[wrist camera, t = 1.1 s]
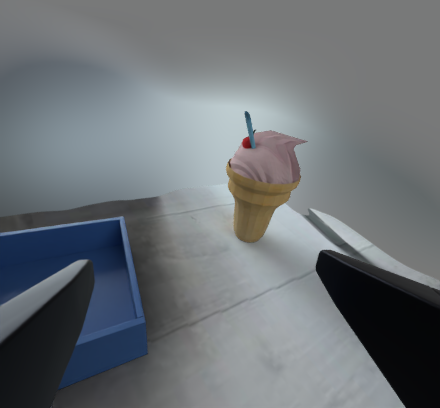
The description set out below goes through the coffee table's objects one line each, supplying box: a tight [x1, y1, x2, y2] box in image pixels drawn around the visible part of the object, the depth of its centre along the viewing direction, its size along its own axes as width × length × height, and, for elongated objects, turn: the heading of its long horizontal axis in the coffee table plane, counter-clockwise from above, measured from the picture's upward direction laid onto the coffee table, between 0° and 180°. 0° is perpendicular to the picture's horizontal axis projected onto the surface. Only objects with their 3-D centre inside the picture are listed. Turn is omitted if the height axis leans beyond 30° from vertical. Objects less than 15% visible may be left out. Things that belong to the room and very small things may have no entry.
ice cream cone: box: [226, 111, 307, 242], centre depth 34 cm, size 11×11×20 cm
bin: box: [0, 217, 148, 390], centre depth 23 cm, size 16×15×5 cm
